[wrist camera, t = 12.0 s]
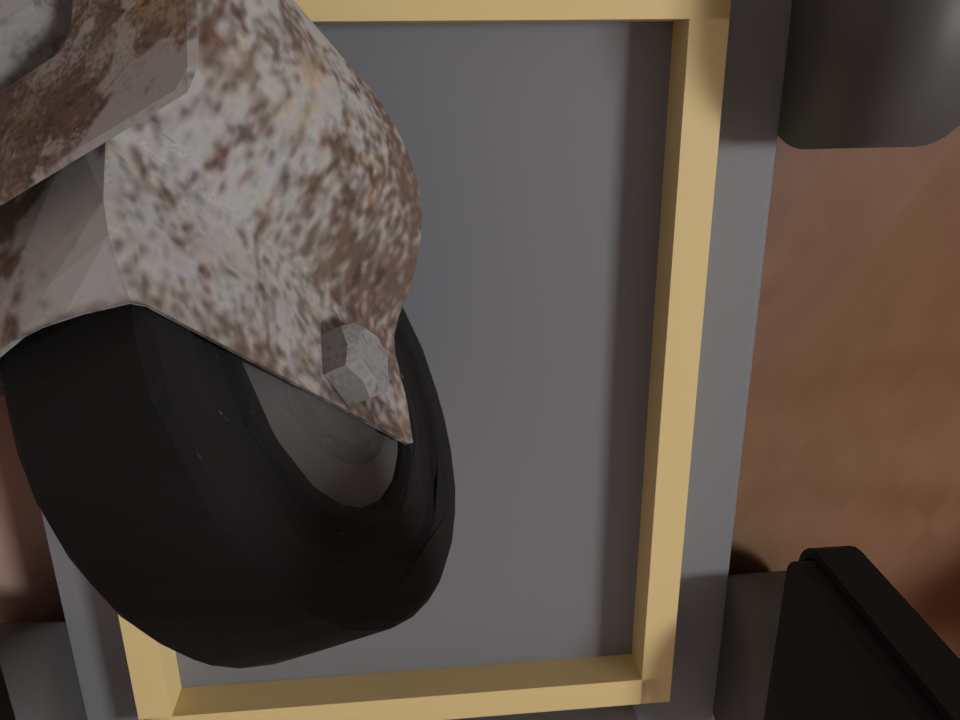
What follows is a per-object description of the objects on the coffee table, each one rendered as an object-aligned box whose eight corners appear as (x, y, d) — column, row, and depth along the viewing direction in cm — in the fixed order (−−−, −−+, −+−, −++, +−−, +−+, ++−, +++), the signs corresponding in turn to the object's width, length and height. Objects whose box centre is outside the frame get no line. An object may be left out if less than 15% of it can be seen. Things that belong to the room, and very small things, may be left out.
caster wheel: (286, 706, 16) (-364, 695, 8) (257, 254, 22) (-149, -32, 13) (598, 618, 14) (153, 479, 6) (478, 142, 19) (160, -280, 11)
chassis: (-196, -137, 16) (-449, -224, 11) (882, -127, 18) (1059, -197, 13) (32, 747, 23) (-60, 919, 18) (768, 688, 25) (854, 831, 20)
